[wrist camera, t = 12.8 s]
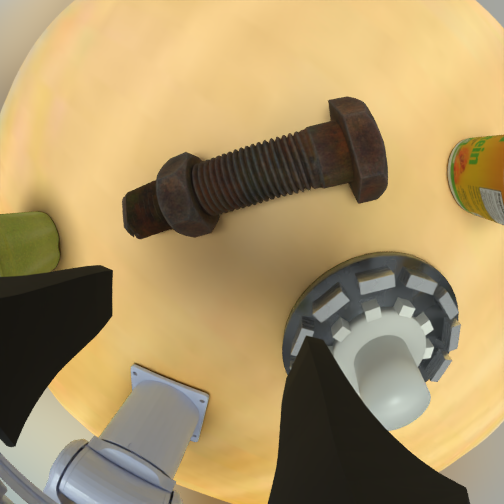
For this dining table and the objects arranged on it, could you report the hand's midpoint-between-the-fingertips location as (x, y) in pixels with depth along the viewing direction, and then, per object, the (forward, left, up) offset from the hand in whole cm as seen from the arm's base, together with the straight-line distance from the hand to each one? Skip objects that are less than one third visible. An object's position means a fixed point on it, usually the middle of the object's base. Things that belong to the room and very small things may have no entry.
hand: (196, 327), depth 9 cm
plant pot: (-5, +20, -10) cm, 23 cm away
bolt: (+5, +1, -10) cm, 11 cm away
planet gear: (-4, -11, -8) cm, 14 cm away
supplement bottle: (+10, -14, -10) cm, 20 cm away
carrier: (-4, -11, -9) cm, 15 cm away
